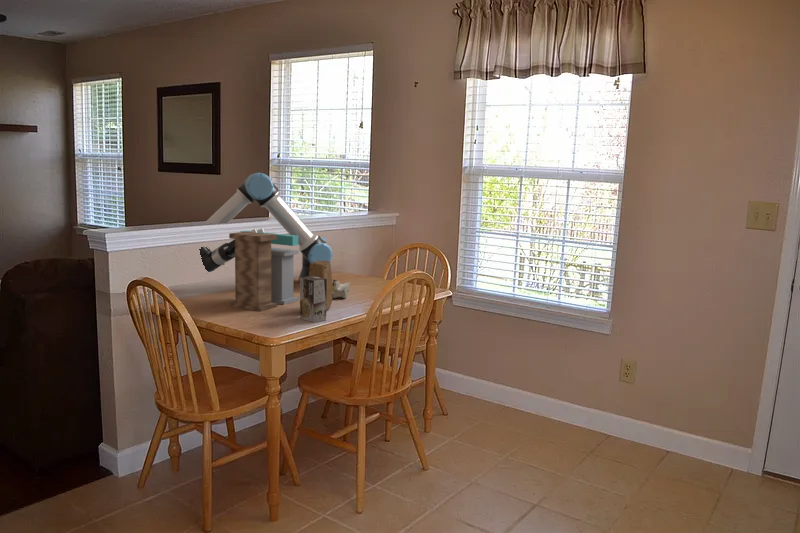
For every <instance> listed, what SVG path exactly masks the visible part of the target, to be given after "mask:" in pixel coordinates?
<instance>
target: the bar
mask: <svg viewBox="0 0 800 533" xmlns="http://www.w3.org/2000/svg"><path fill="white" fill-rule="evenodd" d="M250 231H251V230H242V231H241V230H240V232H250ZM264 232H265V231H264ZM264 232H257V233H264ZM265 233H266V234H277V239H276V240H271V245H280V246H289V247H290V246H291V247H294V246H299V244H298V236H296V235H290V234H283V233H273V232H265Z"/></svg>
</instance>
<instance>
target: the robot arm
mask: <svg viewBox="0 0 800 533" xmlns="http://www.w3.org/2000/svg"><path fill="white" fill-rule="evenodd" d="M254 202H256V204H257V205H258V206H259V207H260V208H265V209H266V210H267V211H268V212H269V213H270V215H271V216H272V217H273V218H274V219H275V220H276V221H277V222H278V224H280V226H282V228H283V229H284V230H285V231H286V232H287V233H288V235H296V236H298V247H299V248H298V250H299V252H300V254H301V255H302V256H301V257H302V258H301V259H302V261H301V264H302V265H301V266H302V267H301V269H300V273H299V276H298V284H300V278H301V277H307V276H309V272H310V264H311V263H312V262H314V261H318V260H320V261H329V262H330V263H331V261H332V259H333V249H332V248H331V246H330V245H328V244H327V240H326V237H323V236H320V235H319V234H318V233H313V232H312V231H311V230H310V228H309V227H308V226H307V225H306V224H305V223H304V222H303V221H302V219H301V218H300V217H299V216H298V215H297V213H296V212H295V211H294V210H293V209H292V208H291V206H290V205H288V203H287V202H286V201H285V199H283V197H282V196H281V195H280V189H279V188H278V186H276V185H275V184H274V182H273V181H272V179H271V177H270V176H269V175H267V174H265V173H263V172H252V173H249V175H248V176H247V177H246V178H245V180H243V182H242V183H241V184H240V185H239V186H238V187H237V188H236V192H235V193H234V194H233V195H232V196H231V197H230V198H229V199H228V200H227V201H226V202H225V203H223V205H222V206H220V207H219V209H217V210H216V211H215V212H214V213H213V214H212V215H211V216H210V217H209V218H208V219H207V220H205V222H204V223H206V224H208V223H227V222H229V223H230V222H231V221H232V220H234V218H236V216H237V215H238V214H239V213H240V212H242V210H244V209H245V207H247V206H248V205H250V204H251V205H252V204H253V203H254ZM249 231H250V232H255V233H257V232H264V233H266V232H265V229H264V228H263V227H260V228H259V229H258V230H257V228H253V229H252V230H249ZM207 247H208V246H207ZM207 247H204V246H203V247H201V249H199V250H200V255H201V257H202V258H201V259H202V262H203V265H204V266H205V269H206V270H207V271H208V272H210V273H211V272H214V271H216V270H217V269H218V268H220V267H222V266H225V264H226V263H228V262H229V261H231V260H233V259H235V239H233V240H231V241H230V242H225V243H222V245H220V246H218V247H217V248H215V249H213V250H211V249H210V248H209V247H208V248H209V249H208V248H207Z"/></svg>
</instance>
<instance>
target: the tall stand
mask: <svg viewBox="0 0 800 533" xmlns="http://www.w3.org/2000/svg"><path fill="white" fill-rule="evenodd" d="M266 233H267V232H265V233H255V232H233V233H232V232H231V233H229V234H228V235H229V236H228V239H231V240H232V239H233V240H234V239H235V257H234V272H235V273H234V275H235V276H234V279H235V280H234V282H235V283H234V284H235V286H234V287H235V288H234V289H235V290H234V291H235V294H234V295H235V297H234V298H235V300H234V301H232V302H230V303H229V307H233V308H239V309H245V310H251V311H256V312H264V311H267V310H270V309H271V310H272V309H273V308H274V309H275V308H277V306H278V304H277V303H272V302H271V248H272V244H271V240H276V239H277V234H278V233H275V234H266Z"/></svg>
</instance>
